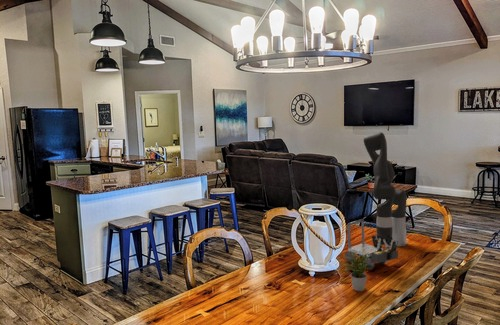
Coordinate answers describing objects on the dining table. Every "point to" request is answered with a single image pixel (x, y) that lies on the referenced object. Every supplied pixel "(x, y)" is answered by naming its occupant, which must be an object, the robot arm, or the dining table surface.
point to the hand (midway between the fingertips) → (384, 257)
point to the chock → (383, 256)
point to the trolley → (360, 248)
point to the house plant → (358, 272)
